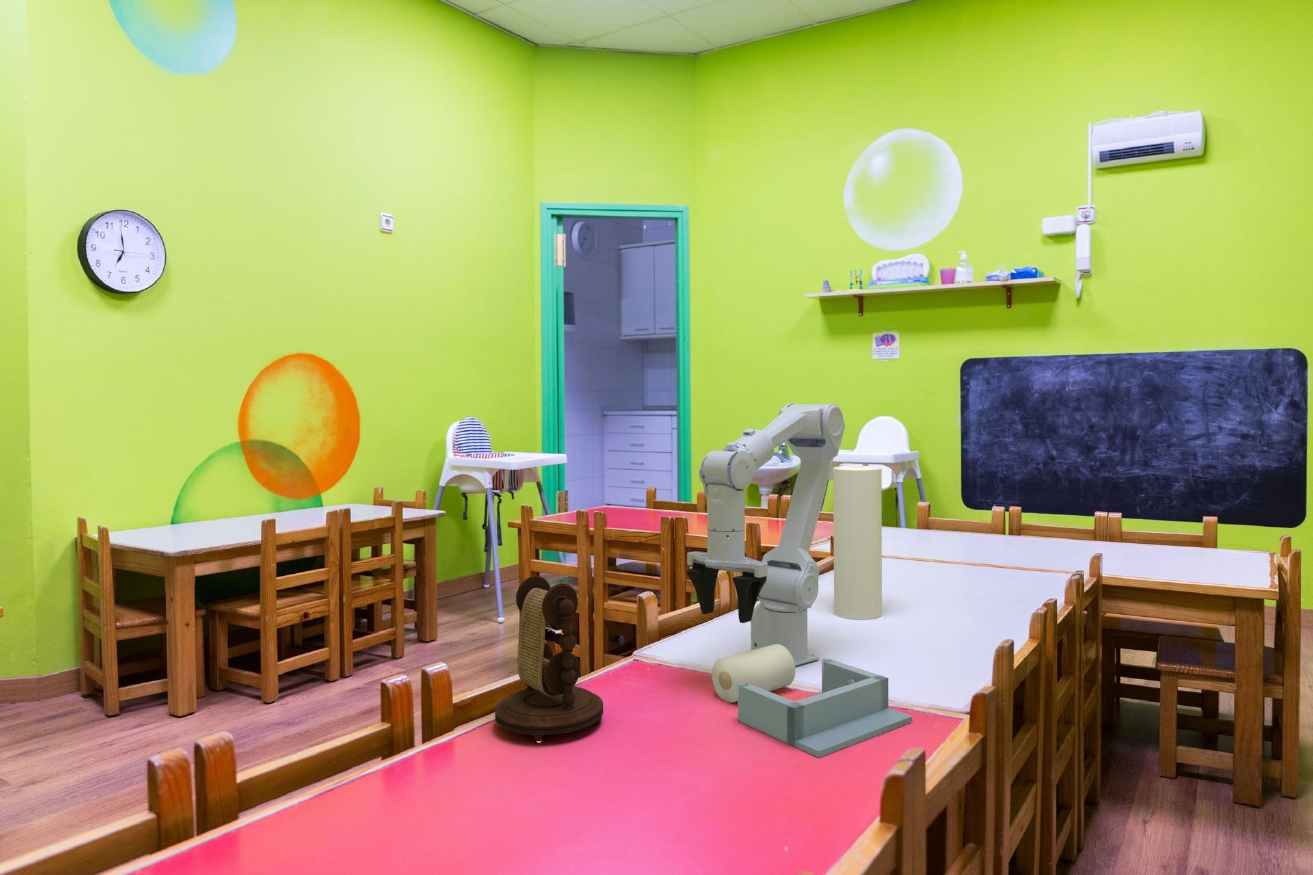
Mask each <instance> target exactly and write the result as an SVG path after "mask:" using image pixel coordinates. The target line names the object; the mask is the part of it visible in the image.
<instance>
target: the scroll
mask: <svg viewBox="0 0 1313 875" xmlns="http://www.w3.org/2000/svg"><path fill="white" fill-rule="evenodd" d="M515 602H516V606H517V608H518V610H519V612H520V613H521V614H520V619H519V620H520V621H519V628H518V629H519V630H518V640H517V641H518V643H517V645H518V646H517V647H518V648H517V674H518V677H519V680H520V681H521V682H522V683H523V684H525V685H526V687H525V688H523V689H520V690H518V691H515V692H512V693H511V694H509V695H508V696H507V697H505V698H503V699H502V700H501V701H499V702H498V703H497V704H496V705H495V707H494V720H495V722H496V723H497V725H498V726H499V727H501V728H502V729H504V730H506V731H510V732H512V733H516V734H521V735H529V736H530V735H531V736H534V741H535V740H536V741H541V740H542V741H543V738H544V736H547V735H548V736H550V735H561V734H565V733H571V732H576V731H579V730H582V729H585V728H588V727H589V726H591V725H593V724H595V725H596V726H599V725H600V724H601V722H602V718H603V714H604V702H603V699H602V698H601V697H600V696H599V695H598V694H596V693H594V692H592V691H590V690H588V689H586V688H584V687H580V686H576V684H577V682H578V681H579V676H580V673H581V664H580V661H579V659H578V656H576V655H575V654H574V653H573V652H574V649H575V647H576V644H577V641H576V636H574V634H573V630H574V627H573V623H572V621H571V620H572V619H573V618H574V617H575V615H576V612H577V610H578V606H579V598H578V594H577V591H576V590H575V588H574V587H573V586H571V585H570V584H567V583H556V584H555V585H553V586H551V584H550V583H549V581H548V580H547V579H546V578H544V577H543V576H540V575H532V576H529V577H527V578H525V579H524V580H523V581H522V582H521V583H520V585H519V586H518V588H517V591H516V595H515ZM548 630H550V631H549V632H548ZM555 631H561V633H557V632H555ZM547 642H550V643H551V642H552V643H555V644H556V645H559V647H560V649H561V652H558V653H557V654H554V652H553V649H552V647H550V645H549V644H548V643H547ZM536 741H535V742H536Z"/></svg>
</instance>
